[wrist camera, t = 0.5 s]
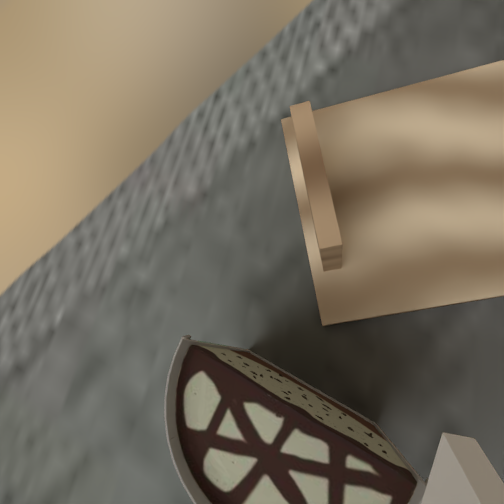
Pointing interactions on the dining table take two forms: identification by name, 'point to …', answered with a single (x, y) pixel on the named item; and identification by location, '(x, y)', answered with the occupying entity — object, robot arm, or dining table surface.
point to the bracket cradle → (403, 195)
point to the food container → (273, 436)
